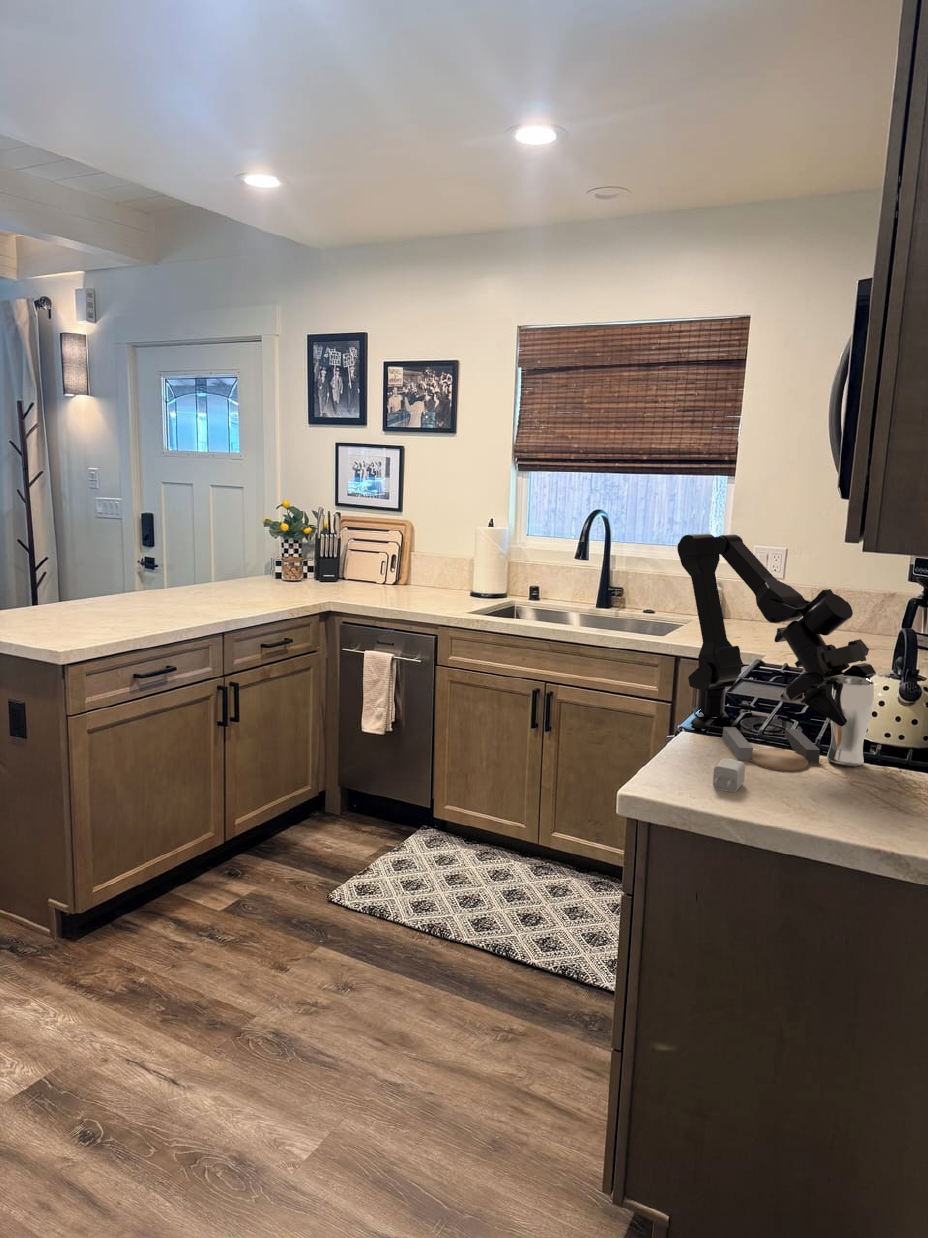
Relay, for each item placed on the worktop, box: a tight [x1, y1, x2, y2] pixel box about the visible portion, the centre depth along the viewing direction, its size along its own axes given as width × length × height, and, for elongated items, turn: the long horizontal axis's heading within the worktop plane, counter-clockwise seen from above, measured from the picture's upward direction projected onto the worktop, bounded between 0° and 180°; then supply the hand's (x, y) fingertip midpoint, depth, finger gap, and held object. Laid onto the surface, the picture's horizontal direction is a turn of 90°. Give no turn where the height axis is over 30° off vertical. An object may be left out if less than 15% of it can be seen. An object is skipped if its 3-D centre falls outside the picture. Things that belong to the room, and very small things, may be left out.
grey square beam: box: [721, 726, 754, 762], centre depth 158 cm, size 12×2×2 cm, turn 177°
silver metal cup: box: [826, 676, 875, 767], centre depth 150 cm, size 7×7×15 cm
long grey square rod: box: [784, 728, 821, 763], centre depth 157 cm, size 12×2×2 cm, turn 177°
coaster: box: [751, 748, 809, 772], centre depth 152 cm, size 10×10×1 cm
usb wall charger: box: [712, 757, 746, 793], centre depth 139 cm, size 4×7×4 cm, turn 148°
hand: (856, 722), depth 149 cm, fingers closed on silver metal cup, 7 cm apart
